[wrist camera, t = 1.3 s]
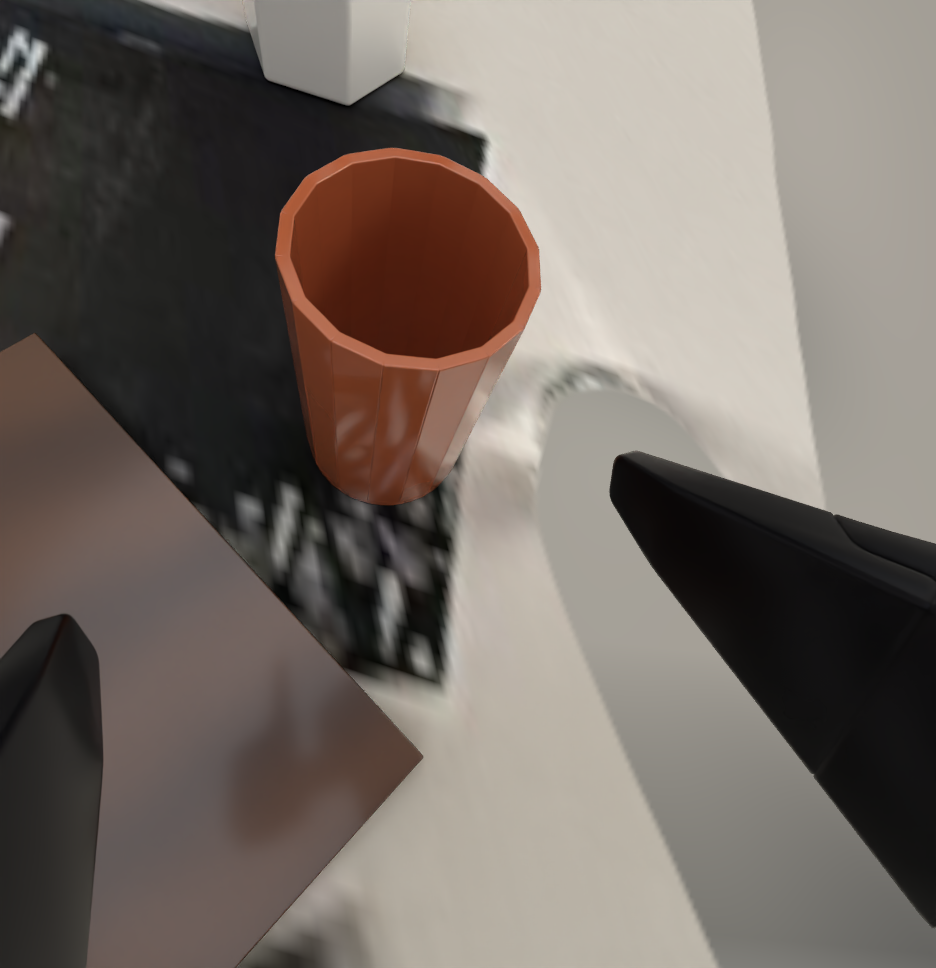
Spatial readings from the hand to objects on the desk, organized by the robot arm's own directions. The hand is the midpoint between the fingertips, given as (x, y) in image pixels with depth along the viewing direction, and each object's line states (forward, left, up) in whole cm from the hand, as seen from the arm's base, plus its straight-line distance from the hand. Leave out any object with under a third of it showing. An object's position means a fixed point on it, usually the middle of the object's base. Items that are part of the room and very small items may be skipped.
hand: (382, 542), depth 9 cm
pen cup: (+5, -6, -15) cm, 17 cm away
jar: (+25, -20, -15) cm, 35 cm away
